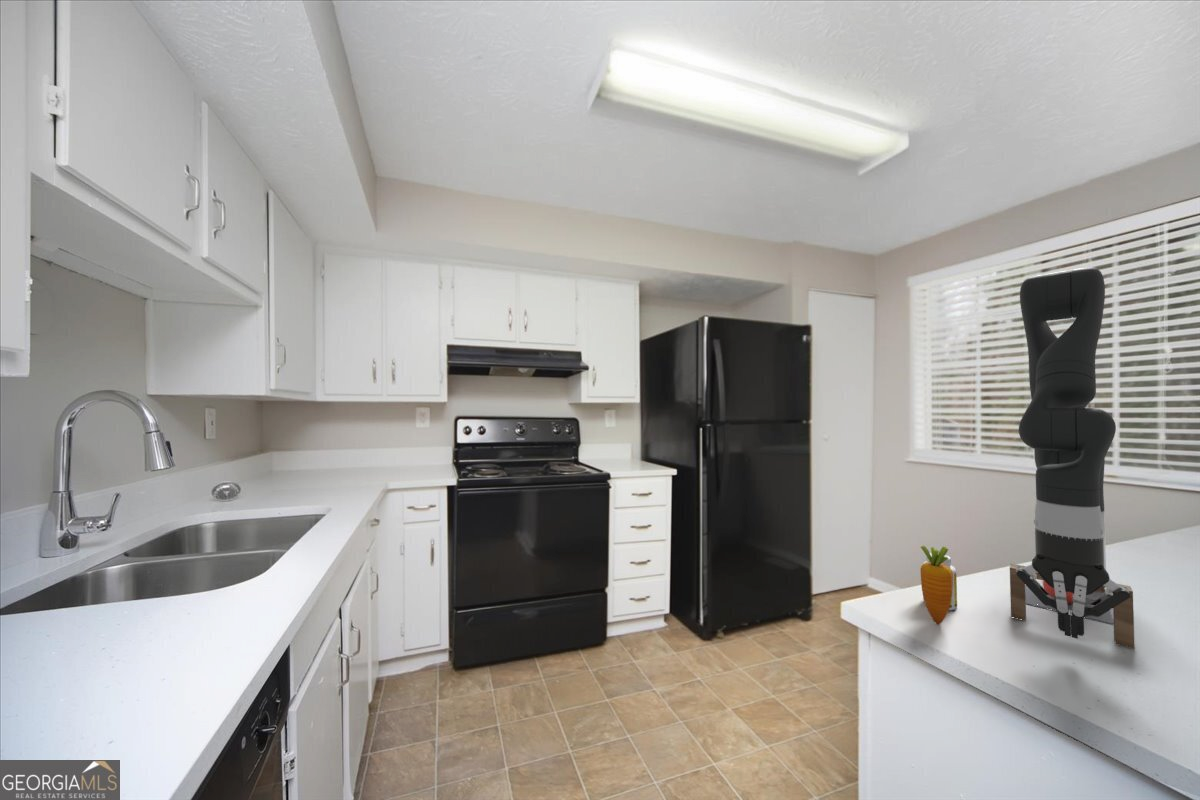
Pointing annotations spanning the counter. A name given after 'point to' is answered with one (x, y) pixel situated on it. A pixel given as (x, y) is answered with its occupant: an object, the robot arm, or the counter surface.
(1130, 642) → the bridge
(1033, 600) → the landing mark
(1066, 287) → the robot arm
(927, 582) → the carrot
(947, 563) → the supplement bottle
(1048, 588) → the ball
